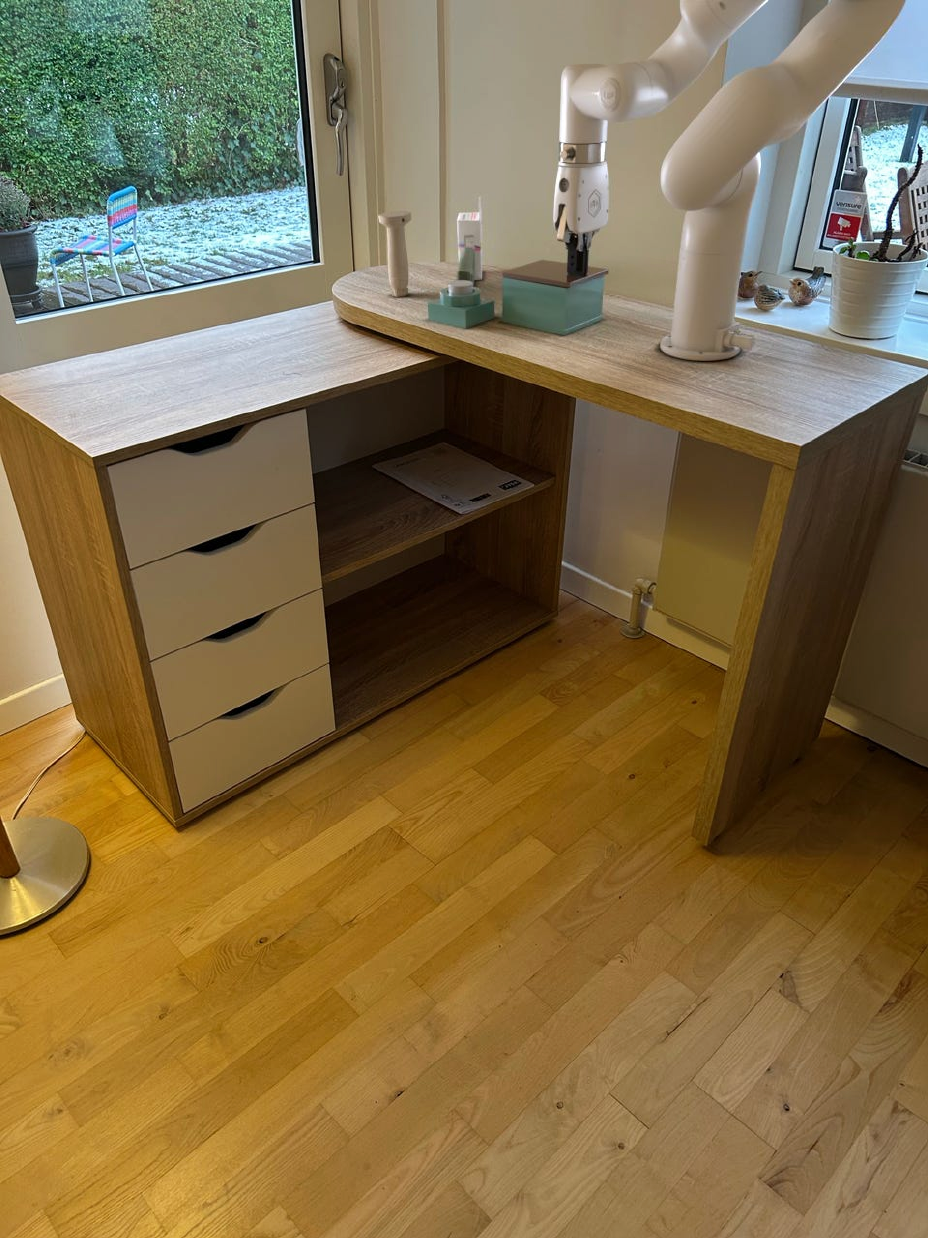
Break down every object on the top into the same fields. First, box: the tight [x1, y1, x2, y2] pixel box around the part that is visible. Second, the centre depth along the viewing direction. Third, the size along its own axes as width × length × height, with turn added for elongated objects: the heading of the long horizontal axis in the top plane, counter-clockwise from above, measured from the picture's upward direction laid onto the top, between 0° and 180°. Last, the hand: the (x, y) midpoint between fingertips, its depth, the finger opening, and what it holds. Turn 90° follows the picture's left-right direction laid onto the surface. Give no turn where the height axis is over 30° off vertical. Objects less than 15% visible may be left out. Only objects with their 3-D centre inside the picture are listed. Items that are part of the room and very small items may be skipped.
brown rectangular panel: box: [502, 259, 609, 288], centre depth 158 cm, size 14×12×1 cm
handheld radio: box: [456, 247, 475, 285], centre depth 181 cm, size 7×3×25 cm
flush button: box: [447, 279, 474, 295], centre depth 163 cm, size 4×4×2 cm
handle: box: [377, 210, 412, 298], centre depth 177 cm, size 5×6×15 cm
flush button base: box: [427, 286, 495, 329], centre depth 164 cm, size 9×8×5 cm
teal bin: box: [501, 275, 605, 336], centre depth 161 cm, size 14×12×8 cm
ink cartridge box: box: [456, 196, 483, 281], centre depth 188 cm, size 9×5×15 cm, turn 178°
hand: (577, 273), depth 156 cm, fingers closed
